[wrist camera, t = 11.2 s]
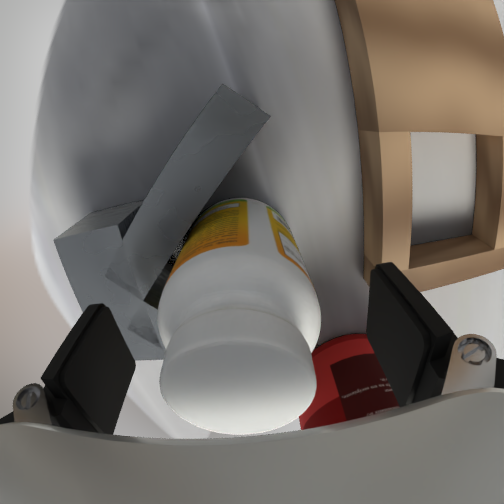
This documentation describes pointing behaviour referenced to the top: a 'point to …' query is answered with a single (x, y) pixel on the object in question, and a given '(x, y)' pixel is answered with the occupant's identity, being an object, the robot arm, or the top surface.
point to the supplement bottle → (239, 323)
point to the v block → (155, 224)
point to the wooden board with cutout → (426, 124)
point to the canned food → (347, 383)
